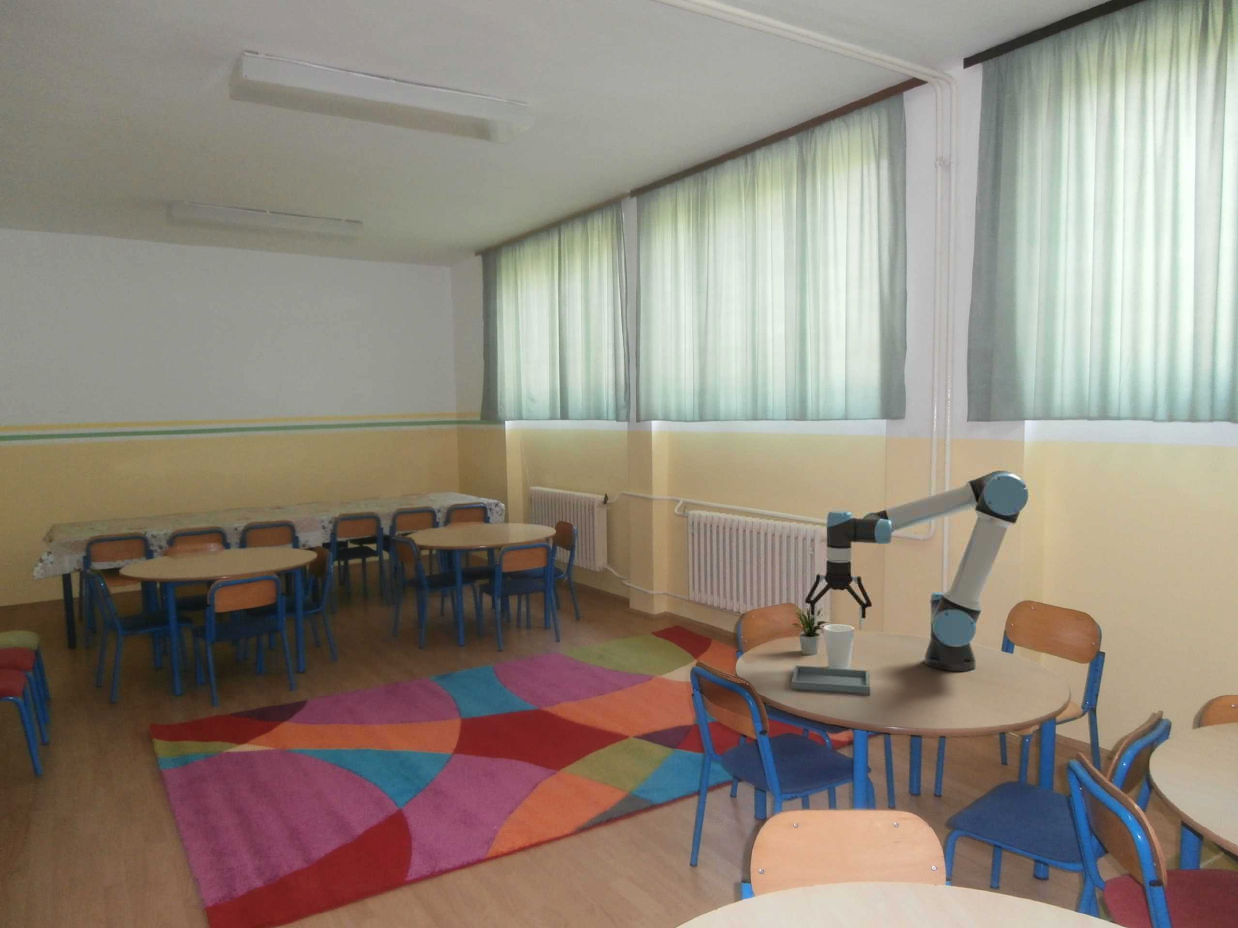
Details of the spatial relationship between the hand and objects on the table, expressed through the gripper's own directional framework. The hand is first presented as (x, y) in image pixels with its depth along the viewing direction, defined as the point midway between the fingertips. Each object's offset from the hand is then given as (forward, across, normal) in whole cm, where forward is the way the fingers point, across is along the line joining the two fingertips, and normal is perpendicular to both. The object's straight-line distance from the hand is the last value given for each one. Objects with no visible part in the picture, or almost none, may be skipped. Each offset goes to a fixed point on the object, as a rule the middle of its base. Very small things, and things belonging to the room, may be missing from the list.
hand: (837, 626), depth 263 cm
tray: (+13, +1, +16) cm, 21 cm away
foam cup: (+14, -1, 0) cm, 14 cm away
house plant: (+14, +10, -15) cm, 23 cm away
